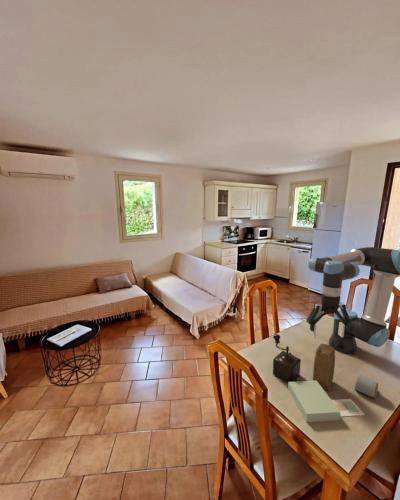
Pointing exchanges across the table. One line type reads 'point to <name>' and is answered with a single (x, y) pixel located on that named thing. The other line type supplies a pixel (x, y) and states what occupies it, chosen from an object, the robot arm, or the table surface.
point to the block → (324, 365)
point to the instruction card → (347, 407)
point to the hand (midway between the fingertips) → (326, 336)
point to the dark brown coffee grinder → (285, 364)
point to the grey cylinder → (366, 385)
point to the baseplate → (313, 401)
